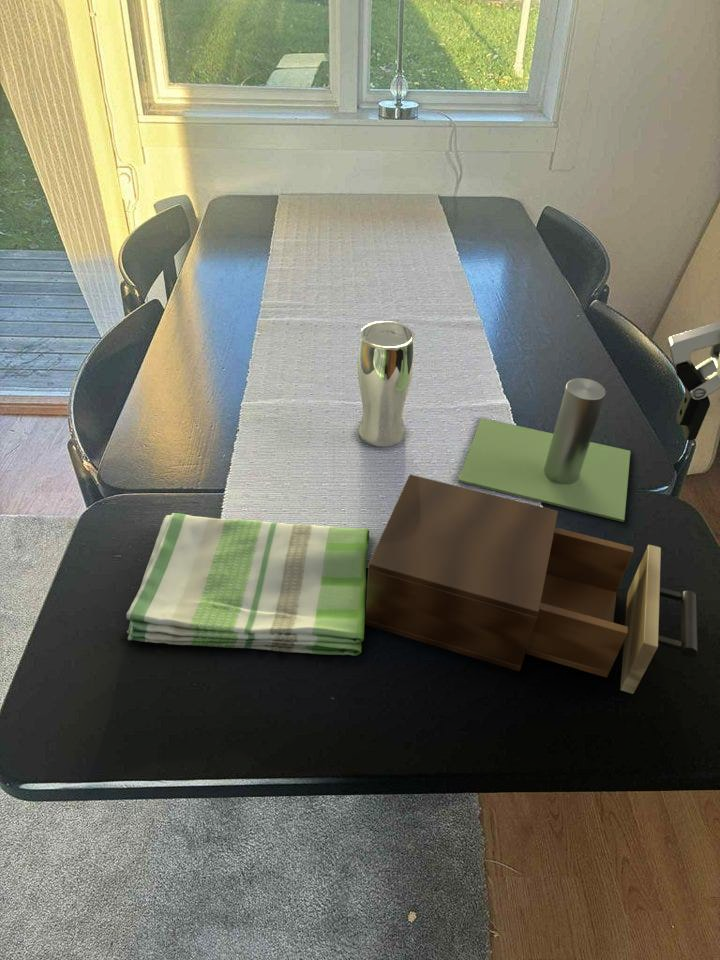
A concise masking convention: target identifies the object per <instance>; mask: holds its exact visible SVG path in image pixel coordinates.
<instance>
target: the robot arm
mask: <svg viewBox="0 0 720 960" xmlns="http://www.w3.org/2000/svg"><path fill="white" fill-rule="evenodd" d="M667 344H668V347H669V353H670V356H671V360H672V365H673V368H674V371H675V375H676V376H677V378H678V379H679V380H680V382H681V383H682V384H683V385H684V387H685V388H686V389H685V392H684V394H683V396H682V399H681V401H680V403H679V407H678V408H677V409H678V410H677V412H676V423H677V425H678V426H681V427H680V428H681V430H682V433H683V437H684V440H686V441H690V442H691V441H692V442H693V441H694V440H697V437H698V435H699V432H700V430H701V427H702V425H703V423H704V420H705V418H706V416H707V414H708V411H709V409H710V406H711V401H710V398H709V396H710V395H712V394H713V393H715V392H717V391H718V390H720V320H719V321H717V322H713V323H709V324H706V325H703V326H700V327H696V328H693V329H690V330H687V331H683V332H680V333H676V334H673V335H671V336H669V337H668V340H667ZM709 347H710V350H709V356H710V357H709V358H707V359H705V360H704V361H702V362H701V363H699V364H698V365H696V366H695V365H694V364H693V362H692V361H691V354H692V353H693V352H696V351H699V350H702V349H706V348H709Z"/></svg>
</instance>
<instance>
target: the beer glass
mask: <svg viewBox="0 0 720 960" xmlns="http://www.w3.org/2000/svg"><path fill="white" fill-rule="evenodd" d="M358 346H359V347H358V355H357V377H358V386H359V391H360V397H361V405H362V414H361V420H360V424H359V426H358V427H359V428H358V434H359V437H360V439H361V440H362V441H363V442H365V443H366V444H368V445H371V446H374V447H379V448H383V447H384V448H385V447H391V446H395V445H396V444H397V445H398V443H400V442H401V441H402V440H403V438H404V436H405V426H404V419H403V415H404V408H405V404H406V401H407V397H408V394H409V390H410V387H411V384H412V379H413V375H414V368H415V367H414V365H415V332H414V331H413V330H412V328H410V327H409V326H408V325H406V324H404V323H401V322H397V321H391V320H385V321H384V320H380V321H374V322H371V323H368V324H367V325H365V326H363V328H361V331H360V339H359V345H358Z"/></svg>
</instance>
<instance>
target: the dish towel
mask: <svg viewBox="0 0 720 960" xmlns="http://www.w3.org/2000/svg"><path fill="white" fill-rule="evenodd" d="M370 532H371V531H370V529H368V528H364V527H363V528H355V527H353V528H352V527H343V526H342V527H340V526H329V525H327V526H325V525H315V524H306V523H281V522H270V521H269V522H268V521H262V520H251V519H238V518H237V519H236V518H235V519H228V518H227V519H226V518H223V519H222V518H215V517H214V518H213V517H208V516H207V517H206V516H196V515H191V514H185V513H180V512H172V513H171V514H166V515H165V516H164V518H163V520H162V523H161V525H160V529H159V532H158V534H157V537H156V539H155V543H154V546H153V548H152V552H151V555H150V557H149V561H148V563H147V565H146V569H145V571H144V575H143V577H142V581H141V584H140V587H139V589H138V591H137V593H136V595H135V597H134V599H133V601H132V602H131V604H130V607H129V609H128V611H127V612H126V614H125V615H126V619H127V620H128V621H130V622H129V625H128V630H127V631H126V633H127V635H128V636H127V640H128V641H136V642H144V643H154V644H167V645H175V646H193V647H194V646H195V647H196V646H197V647H198V646H199V647H211V648H226V649H237V648H238V649H254V650H265V651H272V652H282V653H299V654H312V655H325V656H326V655H329V656H333V655H334V656H338V655H339V656H352V657H357V656H358V655H360V654H361V653H362V642H363V641H365V626H366V625H365V618H366V594H367V562H368V551H369V547H368V546H369V543H370Z"/></svg>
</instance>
